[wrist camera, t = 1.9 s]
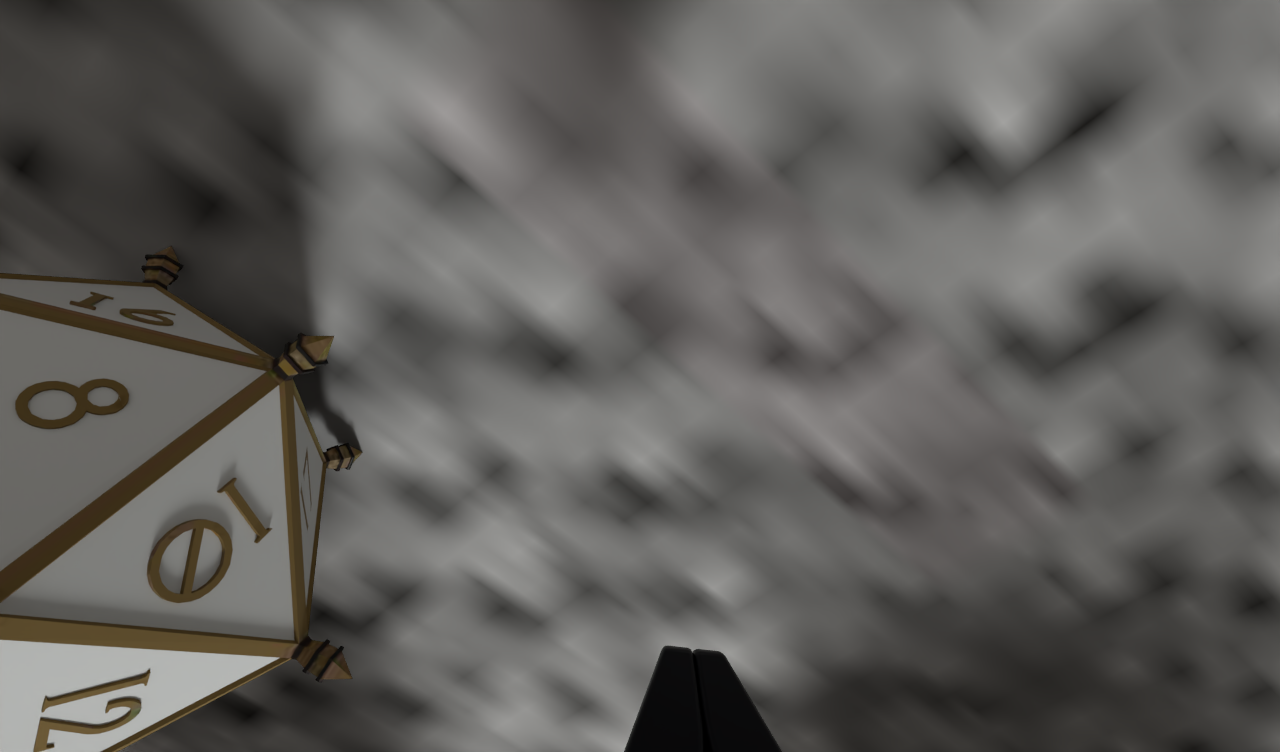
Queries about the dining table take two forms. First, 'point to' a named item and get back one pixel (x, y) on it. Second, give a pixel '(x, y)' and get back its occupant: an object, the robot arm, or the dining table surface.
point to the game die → (147, 510)
